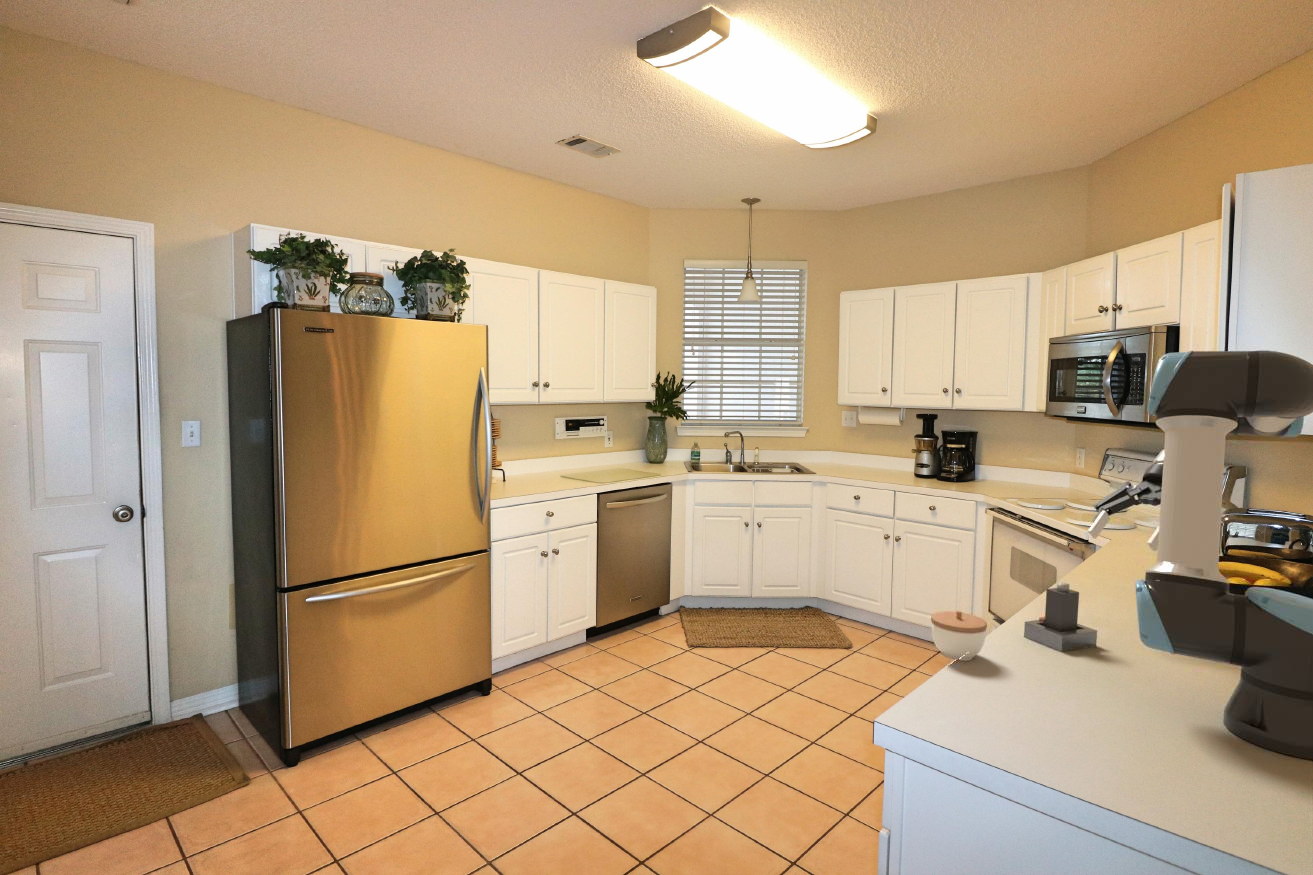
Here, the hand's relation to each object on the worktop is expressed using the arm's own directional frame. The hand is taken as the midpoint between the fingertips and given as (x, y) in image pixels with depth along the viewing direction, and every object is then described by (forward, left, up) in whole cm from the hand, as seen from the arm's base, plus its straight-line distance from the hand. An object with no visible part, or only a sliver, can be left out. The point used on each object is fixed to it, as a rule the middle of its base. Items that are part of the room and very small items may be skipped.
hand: (1120, 540), depth 156 cm
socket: (-10, +11, -22) cm, 27 cm away
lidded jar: (-31, +30, -23) cm, 49 cm away
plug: (-10, +11, -22) cm, 26 cm away
